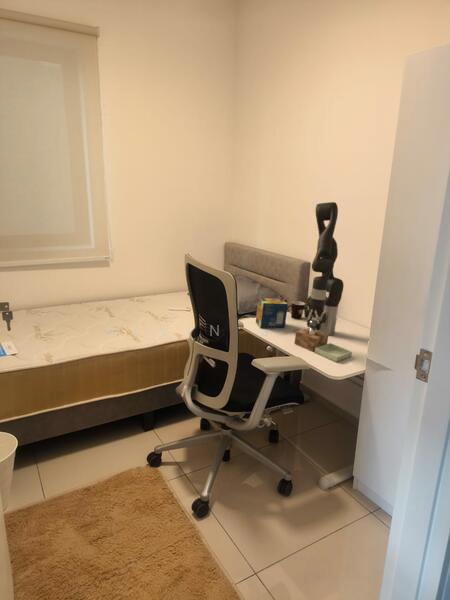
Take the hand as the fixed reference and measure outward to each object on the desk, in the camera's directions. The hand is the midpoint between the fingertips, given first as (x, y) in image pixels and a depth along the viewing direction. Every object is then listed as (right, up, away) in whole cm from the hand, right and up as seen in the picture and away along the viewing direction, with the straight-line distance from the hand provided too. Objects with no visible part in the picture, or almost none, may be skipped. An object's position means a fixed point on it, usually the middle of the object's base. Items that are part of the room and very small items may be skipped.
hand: (313, 328), depth 203 cm
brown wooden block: (-1, -9, +3) cm, 10 cm away
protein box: (-19, -1, +29) cm, 35 cm away
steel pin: (-1, -9, +2) cm, 9 cm away
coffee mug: (-2, +3, +48) cm, 48 cm away
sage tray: (+8, -13, -7) cm, 17 cm away
